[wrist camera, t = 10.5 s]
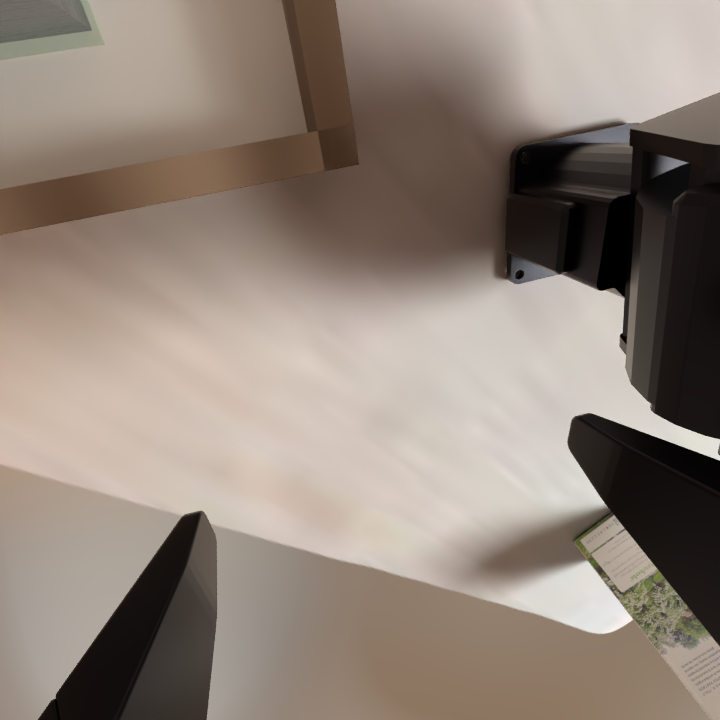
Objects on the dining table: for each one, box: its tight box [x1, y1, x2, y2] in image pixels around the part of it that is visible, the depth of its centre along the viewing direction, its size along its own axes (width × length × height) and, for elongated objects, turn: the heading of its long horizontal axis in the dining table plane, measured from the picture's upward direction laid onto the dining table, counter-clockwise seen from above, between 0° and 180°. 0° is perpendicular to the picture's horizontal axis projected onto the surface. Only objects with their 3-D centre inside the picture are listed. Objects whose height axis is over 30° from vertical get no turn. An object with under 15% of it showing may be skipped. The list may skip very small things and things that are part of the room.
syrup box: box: [574, 513, 720, 720], centre depth 30 cm, size 6×6×14 cm
